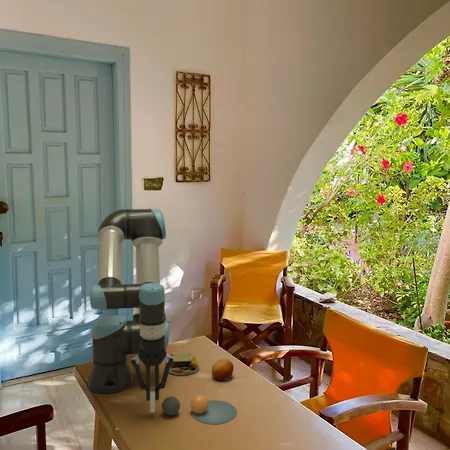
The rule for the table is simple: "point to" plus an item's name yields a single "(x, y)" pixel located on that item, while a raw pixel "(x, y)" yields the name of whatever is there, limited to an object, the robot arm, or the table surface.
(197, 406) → the orange ball
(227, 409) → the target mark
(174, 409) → the dark grey ball
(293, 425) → the table surface
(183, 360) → the toy sandwich meal
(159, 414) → the table surface
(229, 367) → the fruit
